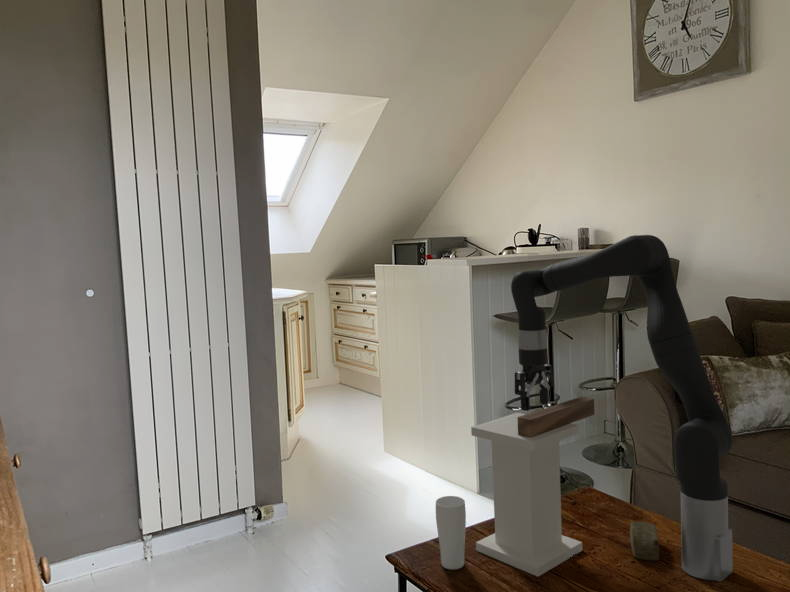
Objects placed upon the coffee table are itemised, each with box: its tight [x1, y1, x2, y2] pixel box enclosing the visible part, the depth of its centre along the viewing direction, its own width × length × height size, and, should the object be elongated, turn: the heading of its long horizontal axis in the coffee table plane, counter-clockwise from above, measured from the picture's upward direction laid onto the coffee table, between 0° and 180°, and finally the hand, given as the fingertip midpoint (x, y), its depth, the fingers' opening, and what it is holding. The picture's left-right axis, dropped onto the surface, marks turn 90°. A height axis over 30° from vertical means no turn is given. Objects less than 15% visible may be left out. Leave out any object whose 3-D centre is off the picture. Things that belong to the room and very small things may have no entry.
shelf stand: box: [470, 412, 583, 578], centre depth 154 cm, size 18×17×30 cm
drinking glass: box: [435, 495, 467, 571], centre depth 149 cm, size 7×7×15 cm
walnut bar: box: [517, 396, 595, 438], centre depth 153 cm, size 4×25×4 cm, turn 131°
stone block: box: [629, 520, 660, 562], centre depth 152 cm, size 6×12×5 cm, turn 164°
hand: (535, 406), depth 174 cm, fingers open, 8 cm apart
